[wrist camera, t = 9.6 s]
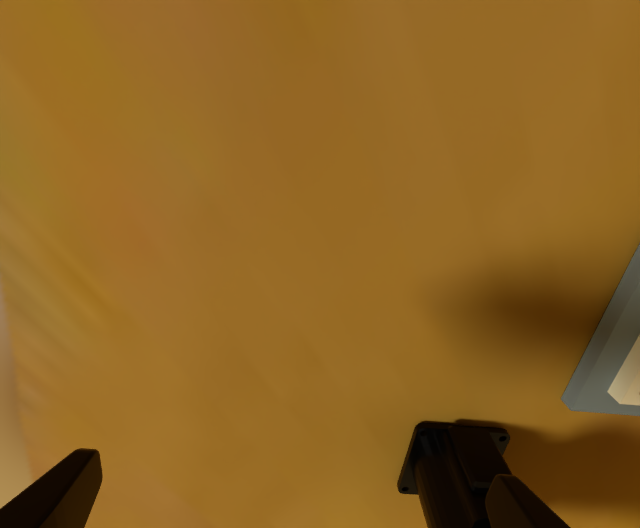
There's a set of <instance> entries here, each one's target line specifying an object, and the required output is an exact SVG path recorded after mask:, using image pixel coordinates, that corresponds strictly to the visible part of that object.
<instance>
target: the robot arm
mask: <svg viewBox="0 0 640 528" xmlns="http://www.w3.org/2000/svg"><path fill="white" fill-rule="evenodd" d="M509 440H510V436H509V434H508V432H507V431H506V430H505V429H501V428H487V427H473V426H459V425H446V424H432V423H420V424H418V425H417V426H416V427H415V429H414V432H413V435H412V438H411V442H410V445H409V448H408V451H407V454H406V457H405V461H404V464H403V467H402V470H401V473H400V476H399V480H398V483H397V487H398V491H399V492H400V493H402V494H417V495H419V499H420V502H421V506H422V509H423V513H424V516H425V520H426V523H427V527H428V528H570V527H569V526H568V525H567V524H566V523H565V522H564V521H563V520H562V519H561V518H560V517H559V516H558V515H557V514H556V513H554V512H553V511H552V510H551V509H550V508H549V507H548V506H547V505H546V504H545V503H544V502H543V501H542V500H541V499H540V498H539V497H538V496H537V495H535V494H534V493H533V492H532V491H531V490H530V489H529V488H528V487H527V486H526V485H525V484H524V483H523V482H522V481H521V480H520V479H518V478H517V477H516V476H514V475H512V473H511V471H510V469H509V468H508V466H507V464H506V462H505V460H504V459H503V457H502V455H503V453H504V451H505V449H506V446H507V444H508V442H509ZM101 483H102V468H101V461H100V454H99V452H98V450H96V449H84V448H81V449H77V450H75V451H73V452H72V453H71V454H69V455H68V456H67V457H66V458H64V459H63V460H62V461H60V462H59V463H58V464H57V465H55V466H54V467H53V468H52V469H50V470H49V471H48V472H46V473H45V474H44V475H43V476H41V477H40V478H39V479H38V480H36V481H35V482H34V483H33V484H31V485H30V486H29V487H28V488H26V489H25V490H24V491H22V492H21V493H20V494H19V495H17V496H16V497H15V498H13V499H12V500H11V501H10V502H8V503H7V504H6V505H5V506H3V507H2V508H1V509H0V528H84V527H85V524H86V522H87V519H88V517H89V514H90V512H91V509H92V507H93V504H94V502H95V499H96V496H97V494H98V491H99V489H100V486H101Z"/></svg>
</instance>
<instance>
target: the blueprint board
mask: <svg viewBox="0 0 640 528" xmlns="http://www.w3.org/2000/svg"><path fill="white" fill-rule="evenodd" d="M561 400H562V401H563V402H564V403H565V404H566V405H567V407H568V408H569V409H570V410H571V411H584V412H597V413H609V414H622V415H635V416H640V244H639V246H638V248H637V250H636V252H635V254H634V256H633V257H632V259H631V261H630V263H629V265H628V267H627V269H626V271H625V273H624V275H623V277H622V279H621V281H620V283H619V285H618V287H617V289H616V291H615V293H614V295H613V297H612V299H611V301H610V303H609V305H608V307H607V309H606V311H605V313H604V315H603V317H602V319H601V321H600V323H599V325H598V327H597V329H596V331H595V333H594V335H593V337H592V339H591V340H590V342H589V344H588V346H587V348H586V350H585V352H584V354H583V356H582V358H581V360H580V362H579V364H578V366H577V368H576V370H575V372H574V374H573V376H572V378H571V380H570V382H569V384H568V386H567V388H566V390H565V392H564V394H563V396H562V398H561Z"/></svg>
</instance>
